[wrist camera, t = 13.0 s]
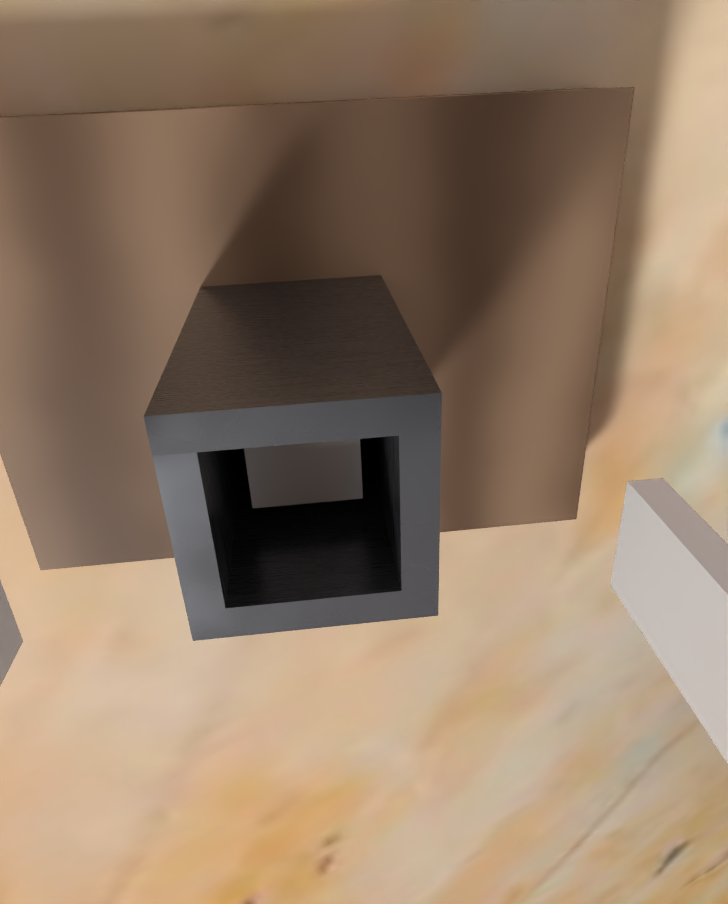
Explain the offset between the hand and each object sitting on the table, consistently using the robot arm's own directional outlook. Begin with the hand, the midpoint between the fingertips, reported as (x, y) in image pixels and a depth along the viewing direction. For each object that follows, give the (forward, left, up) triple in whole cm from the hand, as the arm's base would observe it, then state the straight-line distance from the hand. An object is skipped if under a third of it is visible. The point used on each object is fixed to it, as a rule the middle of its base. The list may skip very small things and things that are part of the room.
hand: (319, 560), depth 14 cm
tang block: (0, 0, -14) cm, 14 cm away
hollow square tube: (0, 0, -11) cm, 11 cm away
